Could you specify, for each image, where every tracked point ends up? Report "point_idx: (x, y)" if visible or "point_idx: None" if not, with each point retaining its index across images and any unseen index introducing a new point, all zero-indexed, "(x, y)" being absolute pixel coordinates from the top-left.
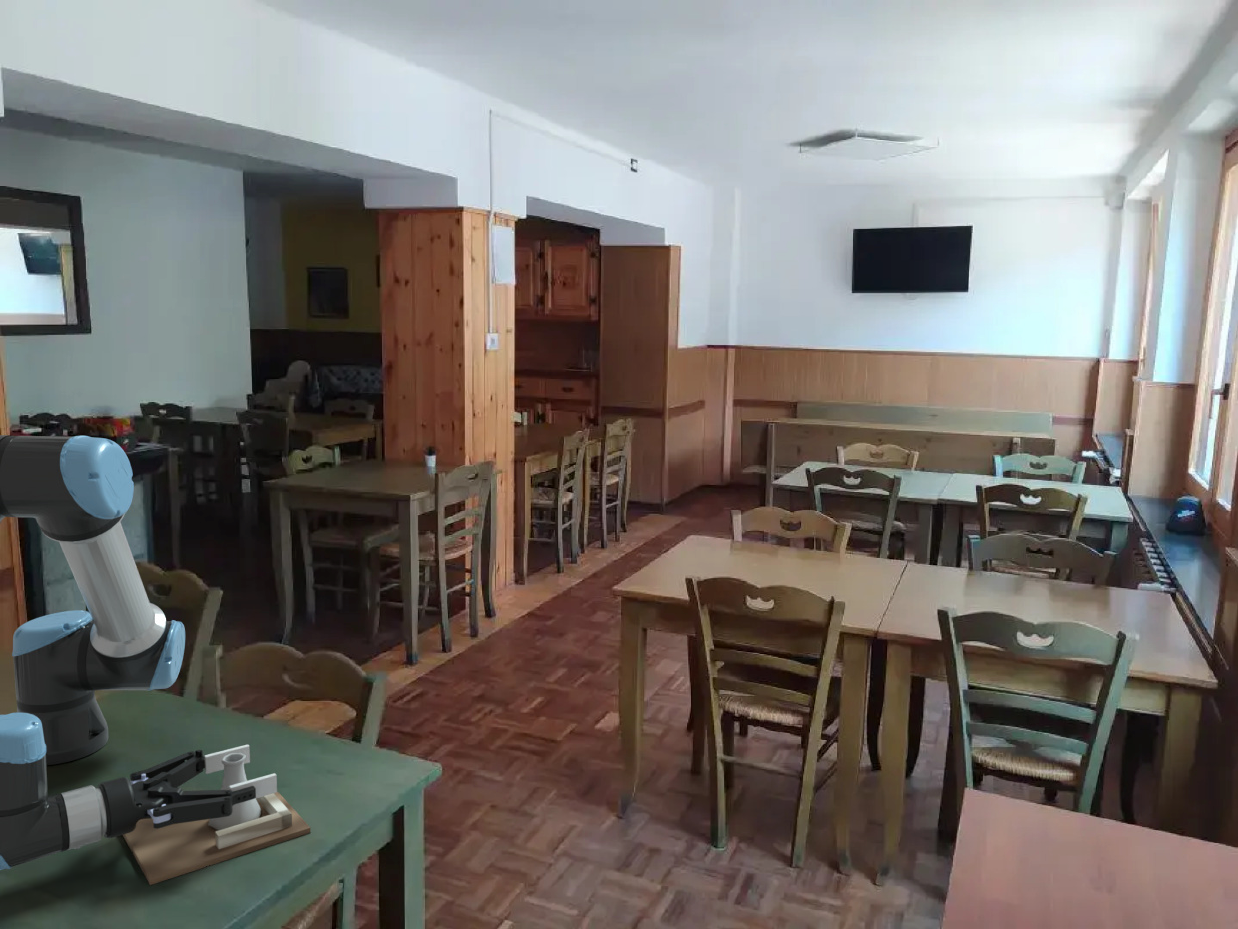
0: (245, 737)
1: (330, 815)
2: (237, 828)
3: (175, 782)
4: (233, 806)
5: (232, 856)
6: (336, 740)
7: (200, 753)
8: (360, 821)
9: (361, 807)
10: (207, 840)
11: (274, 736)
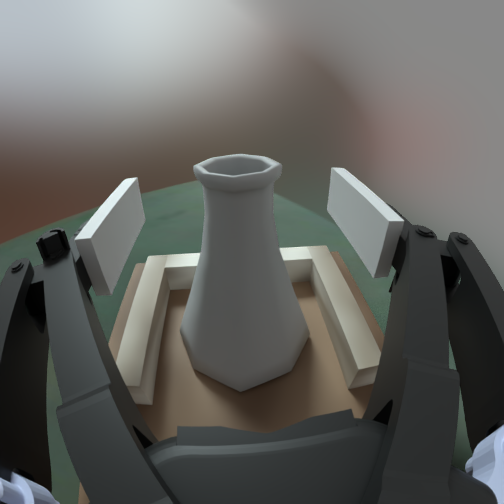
0: (4, 262)
1: (292, 235)
2: (359, 323)
3: (126, 393)
4: (290, 302)
5: None
6: None
7: (59, 238)
8: (324, 220)
9: (288, 213)
10: (318, 405)
11: (32, 242)
